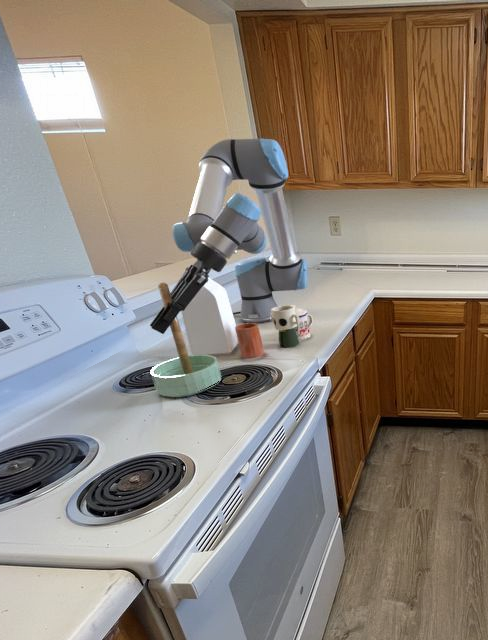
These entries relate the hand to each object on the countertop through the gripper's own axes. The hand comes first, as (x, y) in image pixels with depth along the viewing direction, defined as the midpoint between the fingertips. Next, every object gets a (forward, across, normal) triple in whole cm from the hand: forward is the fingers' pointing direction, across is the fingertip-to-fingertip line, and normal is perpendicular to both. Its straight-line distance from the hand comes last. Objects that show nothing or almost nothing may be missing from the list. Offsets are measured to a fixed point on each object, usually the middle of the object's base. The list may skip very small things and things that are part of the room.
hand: (156, 329), depth 100 cm
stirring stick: (+7, 0, -12) cm, 14 cm away
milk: (0, +27, -24) cm, 36 cm away
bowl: (+9, +2, -14) cm, 17 cm away
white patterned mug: (-18, +21, -42) cm, 50 cm away
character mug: (-13, +14, -37) cm, 41 cm away
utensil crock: (-4, +12, -28) cm, 31 cm away
